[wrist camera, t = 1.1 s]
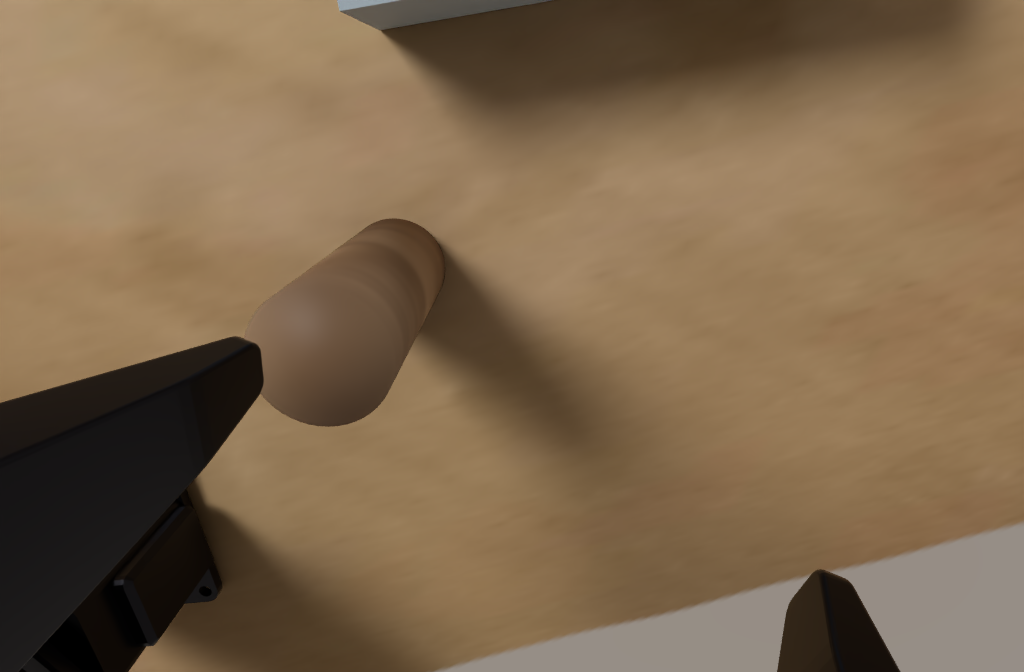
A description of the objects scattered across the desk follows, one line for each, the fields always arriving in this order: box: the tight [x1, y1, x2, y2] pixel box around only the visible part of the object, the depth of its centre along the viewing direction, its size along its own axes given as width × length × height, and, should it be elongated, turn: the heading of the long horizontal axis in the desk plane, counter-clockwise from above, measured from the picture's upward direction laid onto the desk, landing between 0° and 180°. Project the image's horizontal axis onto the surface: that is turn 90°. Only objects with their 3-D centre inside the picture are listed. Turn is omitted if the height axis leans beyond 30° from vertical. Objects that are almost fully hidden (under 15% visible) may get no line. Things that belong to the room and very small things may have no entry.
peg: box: [244, 219, 445, 427], centre depth 17 cm, size 3×3×8 cm
